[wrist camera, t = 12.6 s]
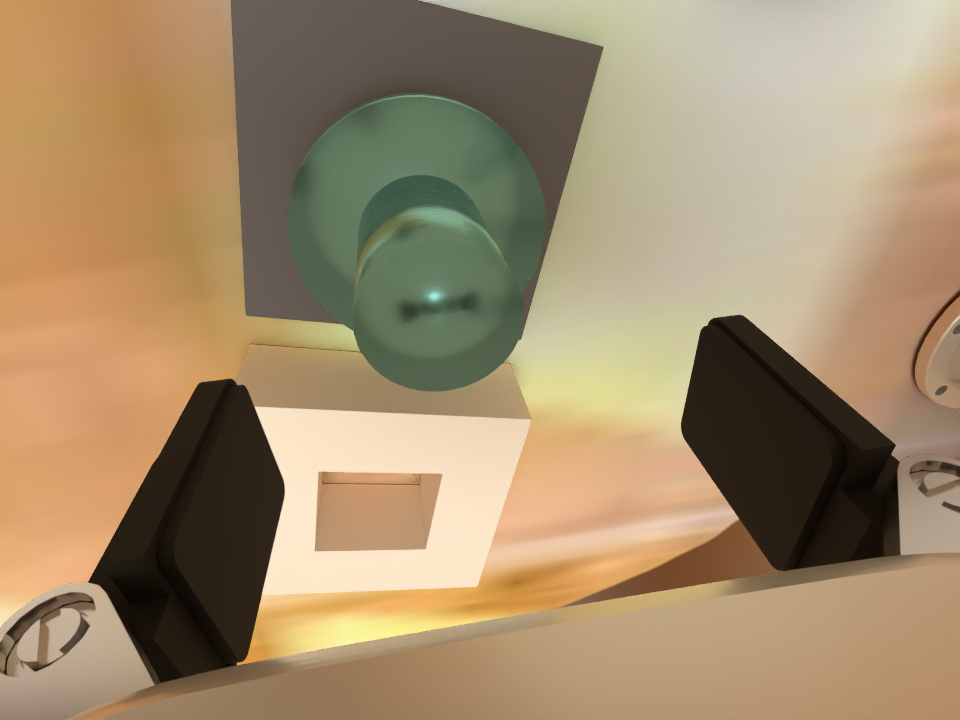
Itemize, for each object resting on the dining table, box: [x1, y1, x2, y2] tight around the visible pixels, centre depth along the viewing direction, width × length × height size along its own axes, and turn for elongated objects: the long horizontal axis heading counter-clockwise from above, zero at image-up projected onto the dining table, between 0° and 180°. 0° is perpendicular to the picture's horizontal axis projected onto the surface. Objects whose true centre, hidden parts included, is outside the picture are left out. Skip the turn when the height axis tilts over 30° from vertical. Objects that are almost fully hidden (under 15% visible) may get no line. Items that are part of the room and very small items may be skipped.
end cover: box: [288, 93, 546, 392], centre depth 18 cm, size 9×9×12 cm
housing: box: [236, 344, 532, 595], centre depth 29 cm, size 14×14×5 cm
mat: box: [231, 0, 603, 340], centre depth 23 cm, size 14×14×1 cm
